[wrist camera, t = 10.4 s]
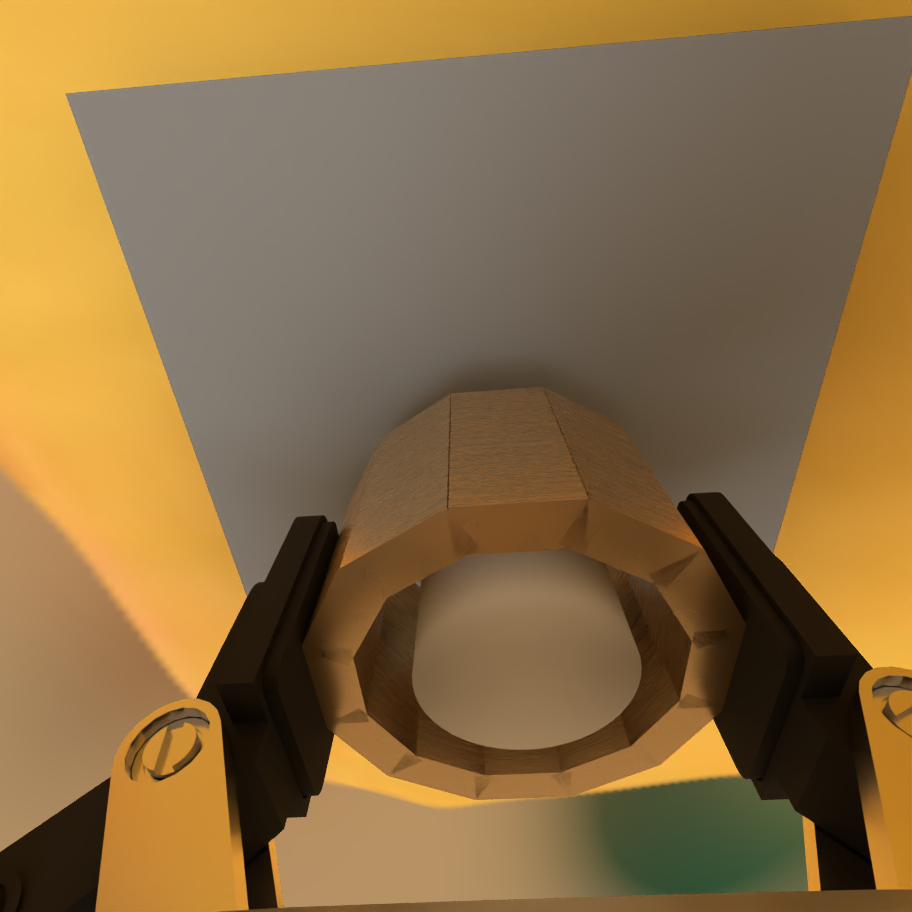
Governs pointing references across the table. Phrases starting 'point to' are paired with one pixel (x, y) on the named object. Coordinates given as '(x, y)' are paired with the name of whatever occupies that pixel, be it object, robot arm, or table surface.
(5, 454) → the table surface
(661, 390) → the piston stand
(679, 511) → the robot arm
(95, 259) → the table surface
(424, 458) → the bronze ring
